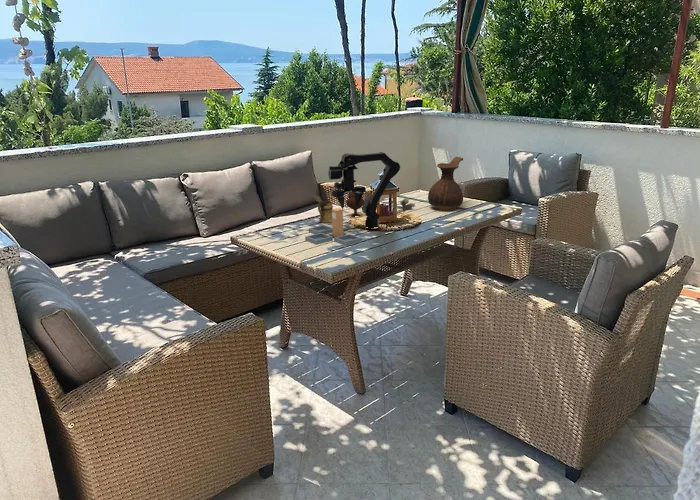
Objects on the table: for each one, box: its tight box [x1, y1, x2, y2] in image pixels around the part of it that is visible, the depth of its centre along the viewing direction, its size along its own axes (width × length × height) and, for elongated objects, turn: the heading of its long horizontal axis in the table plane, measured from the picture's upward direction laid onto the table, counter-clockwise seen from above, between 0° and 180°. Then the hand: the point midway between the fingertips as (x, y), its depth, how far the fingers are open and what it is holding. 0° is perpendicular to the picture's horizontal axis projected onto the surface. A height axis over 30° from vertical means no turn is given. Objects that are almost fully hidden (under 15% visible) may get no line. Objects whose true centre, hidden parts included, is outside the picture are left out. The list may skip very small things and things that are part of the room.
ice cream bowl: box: [345, 192, 365, 218], centre depth 326 cm, size 11×11×15 cm
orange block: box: [331, 207, 345, 237], centre depth 287 cm, size 4×4×14 cm
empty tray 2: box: [333, 233, 363, 247], centre depth 278 cm, size 10×10×2 cm
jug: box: [427, 156, 464, 212], centre depth 335 cm, size 22×22×30 cm
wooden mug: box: [312, 192, 334, 224], centre depth 315 cm, size 9×14×18 cm, turn 134°
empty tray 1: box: [307, 224, 333, 235], centre depth 296 cm, size 10×10×2 cm
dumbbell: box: [397, 197, 416, 212], centre depth 336 cm, size 9×22×10 cm, turn 115°
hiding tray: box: [304, 233, 334, 246], centre depth 282 cm, size 10×10×2 cm
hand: (349, 207), depth 295 cm, fingers open, 9 cm apart
